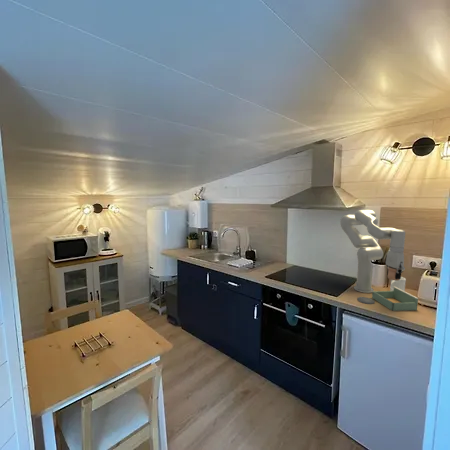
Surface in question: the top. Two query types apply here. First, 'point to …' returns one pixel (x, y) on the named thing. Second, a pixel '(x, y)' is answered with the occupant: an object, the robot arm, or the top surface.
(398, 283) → the mug
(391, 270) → the pot
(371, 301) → the slate pad
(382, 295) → the tray
